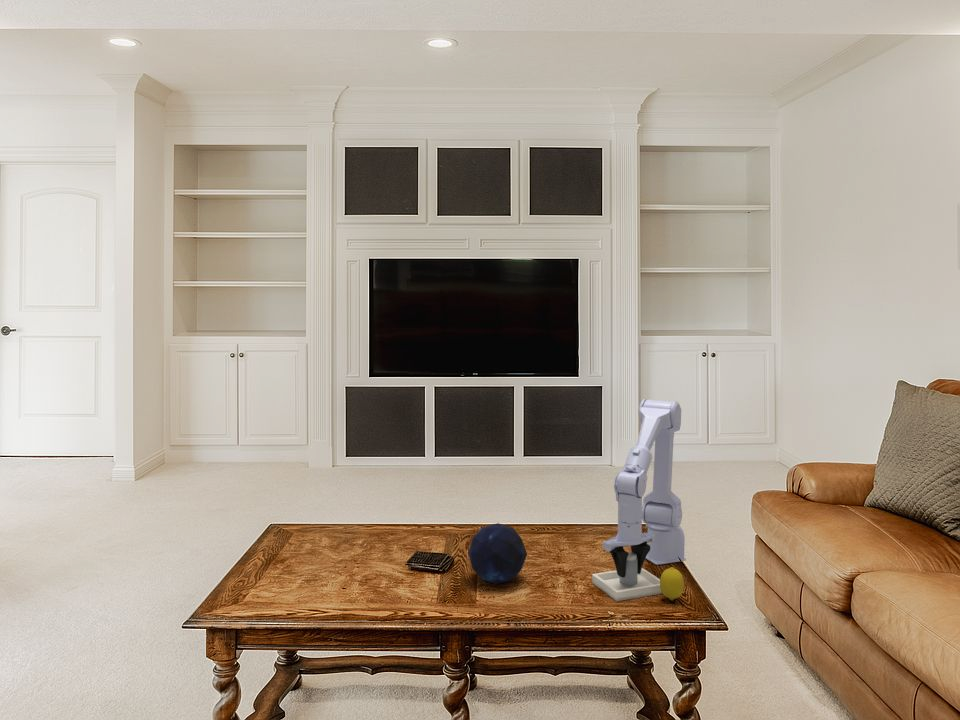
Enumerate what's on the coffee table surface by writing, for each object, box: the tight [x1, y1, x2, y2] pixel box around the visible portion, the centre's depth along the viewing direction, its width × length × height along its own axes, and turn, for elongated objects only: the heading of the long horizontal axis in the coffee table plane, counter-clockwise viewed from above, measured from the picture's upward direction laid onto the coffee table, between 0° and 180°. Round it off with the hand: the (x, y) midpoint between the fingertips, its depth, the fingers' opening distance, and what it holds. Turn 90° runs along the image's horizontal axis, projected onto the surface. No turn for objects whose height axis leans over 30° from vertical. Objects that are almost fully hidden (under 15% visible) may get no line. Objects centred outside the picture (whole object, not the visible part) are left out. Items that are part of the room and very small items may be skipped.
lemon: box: [659, 566, 685, 601], centre depth 175 cm, size 6×6×8 cm
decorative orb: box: [467, 522, 528, 585], centre depth 188 cm, size 14×15×15 cm
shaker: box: [619, 551, 638, 585], centre depth 183 cm, size 4×4×7 cm
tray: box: [591, 567, 664, 602], centre depth 183 cm, size 14×12×2 cm
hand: (629, 574), depth 183 cm, fingers closed on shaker, 4 cm apart
